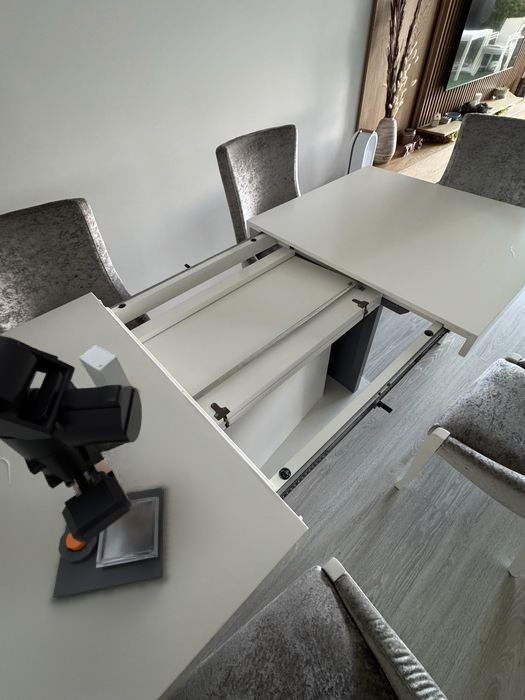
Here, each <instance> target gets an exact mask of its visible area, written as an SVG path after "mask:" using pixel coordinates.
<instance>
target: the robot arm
mask: <svg viewBox="0 0 525 700" xmlns="http://www.w3.org/2000/svg"><path fill="white" fill-rule="evenodd" d="M75 370H76V368H75V366H73V365H71V364H70V363H68V362H65V361H63V360H60V359H59V356H57V355H54V354H52V353H49V352H46V351H43V350H41V349H39V348H36V347H33V346H31V345H29V344H27V343H26V342H23V341H21V340H18V339H16V338H14V337H10V336H6V335H0V441H2V442H3V443H4V444H6V445H7V446H8V447H9V448H11V449H12V450H13V451H15V452H16V453H17V455H20V456H21V457H22V458H23V459H24V462H25V464H26V466H27V469H28V471H29V472H30V473H31V474H32V475H34V476H36V475H37V474H39V473H42V474H43V476H44V478H45V481H46V484H47V485H48V487H49V488H51V489H52V490H53V489H55V488H57V487H58V486H60V485H61V484H62V483H64V486H65V487H66V488H67V489H69V488H72V487H73V485H74V484H75V483H76V482H77V484H78V486H79V487H78V488H77V489H78V493H77V494H76V493H75V494H74V495H72V497H70V498H68V499H67V500H66V501H64V505H65V506H64V508H63V510H62V511H61V515H62V517H63V519H64V521H65V525H66V524H67V526H68V528H69V530H70V533H71V535H72V537H73V538H74V539H75V540H77V541H79V542H83V543H88V542H89V541H90V540H92V539H93V538H94V537H96V536H97V535H98V534H100V533H101V532H102V531H104V530H105V529H106V528H108V527H109V526H110V525H112V524H113V523H114V522H116V521H117V520H118V519H120V518H121V517H122V516H124V515H125V514H126V513H128V512H129V511H130V508H131V505H132V503H131V501H130V499H129V498H128V496H127V492H126V491H125V488H124V487H123V486H122V484H121V483H120V481H119V479H118V478H117V476H116V475H114V474H115V472H114V473H113V471H114V470H113V471H112V470H111V471H110V472H108V473H107V474H106V473H105V472H104V471H99V472H98V471H97V469H96V467H95V466H94V465H96V464H98V463H99V462H101V461H104V460H105V457H104V455H103V453H104V452H105V453H106V452H109V451H111V450H113V449H115V448H118V447H120V446H123V445H126V444H130V443H135V442H136V441H137V440H138V438H139V436H140V432H141V428H142V421H143V408H142V406H143V405H142V400H141V396H140V392H139V390H138V388H137V387H134V386H133V385H131V386H121V385H119V384H117V385H106V386H101V387H96V386H93V387H79V388H77V386H76V385H75V383H74V382H73V381H72V379H73V377H74V374H75V372H76V371H75ZM37 373H42V374H45V375H44V378H43V379H42V382H41V385H40V387H32V384H33V382H34V380H35V377H36V375H37ZM86 471H88V472H87V473H88V474H89V475H88V476H89V477H90V479H88V477H87V475H86V473H85V472H86ZM74 480H76V482H75V481H74Z"/></svg>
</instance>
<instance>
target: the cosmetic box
mask: <svg viewBox="0 0 525 700" xmlns="http://www.w3.org/2000/svg"><path fill="white" fill-rule="evenodd" d="M78 360H79V361H80V363H81V364H82V366H83V368H84V369H85V371H86V373H87V374H88V376H89V377H90V379H91V380H92V382H93V384H94V385H95V387H101V386H106V385H117V384H119V385H121V386H132V385H131V382H130V381H129V379H128V376H127V375H126V373H125V371H124V368H123V366H122V364H121V362H120V361H119V358H118V357H117V355H115V354H114V353H112V352H109V351H108V350H106V349H104V348H103V347H100V346H99V345H97V344H94V345H93V346H91V347H90V348H89V349H88V350H87V351H85V352H84V353H83V354H82V355H80V356H79V357H78Z"/></svg>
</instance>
